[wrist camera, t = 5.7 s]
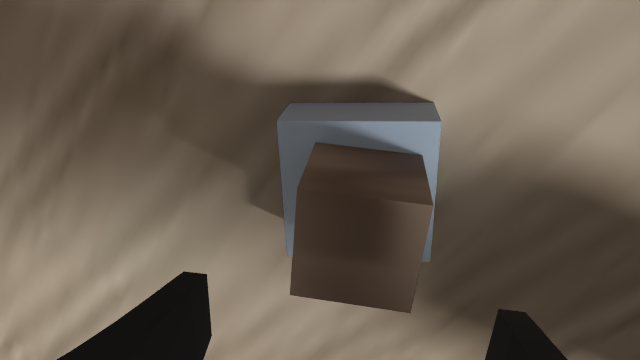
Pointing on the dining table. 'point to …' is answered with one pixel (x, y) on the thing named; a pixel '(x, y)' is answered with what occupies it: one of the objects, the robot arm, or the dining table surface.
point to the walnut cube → (360, 226)
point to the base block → (355, 142)
